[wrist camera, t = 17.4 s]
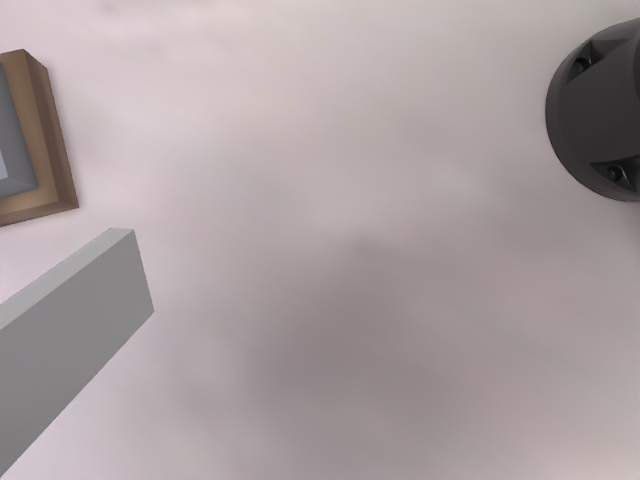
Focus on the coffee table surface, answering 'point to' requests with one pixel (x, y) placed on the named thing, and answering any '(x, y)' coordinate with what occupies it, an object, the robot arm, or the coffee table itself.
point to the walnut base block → (37, 142)
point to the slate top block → (13, 148)
